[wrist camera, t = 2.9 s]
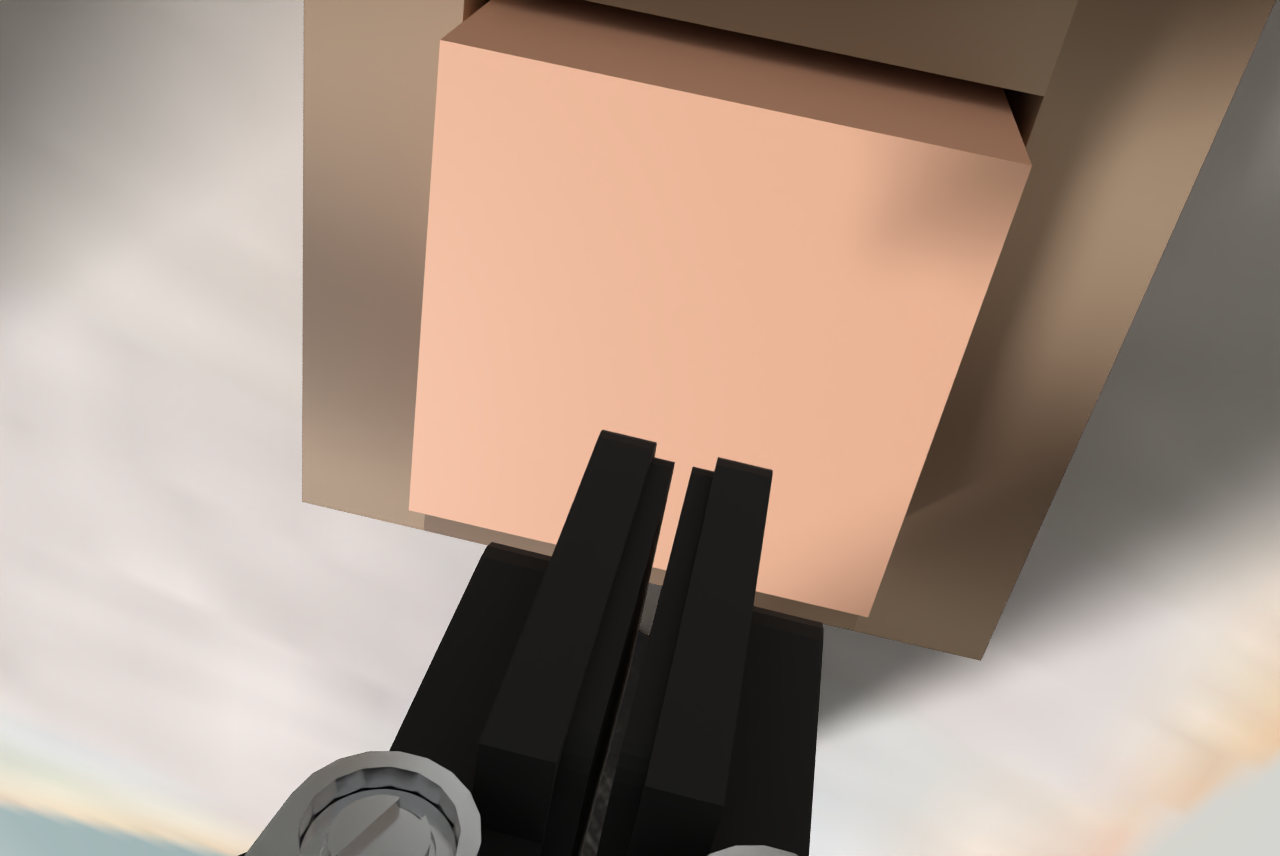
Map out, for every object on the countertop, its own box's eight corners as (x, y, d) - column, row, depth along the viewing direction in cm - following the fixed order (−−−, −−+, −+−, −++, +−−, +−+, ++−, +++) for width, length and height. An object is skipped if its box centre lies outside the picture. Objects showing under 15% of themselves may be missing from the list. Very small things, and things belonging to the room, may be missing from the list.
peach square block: (866, 437, 21) (868, 617, 17) (496, 354, 22) (408, 510, 17) (990, 55, 17) (1032, 165, 13) (539, -38, 18) (440, 40, 14)
